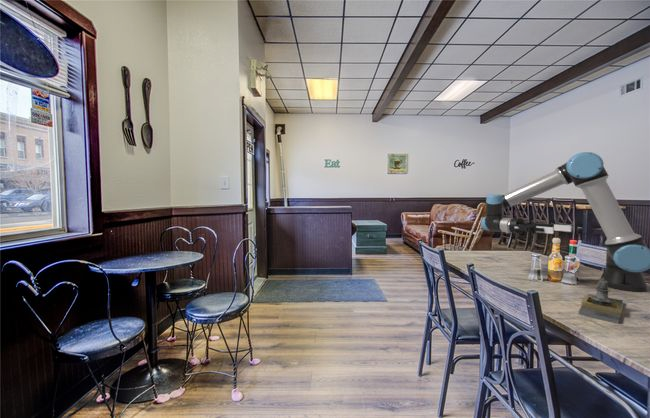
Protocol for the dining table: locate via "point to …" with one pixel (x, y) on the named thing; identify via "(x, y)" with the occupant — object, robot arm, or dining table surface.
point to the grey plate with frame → (601, 309)
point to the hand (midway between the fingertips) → (562, 229)
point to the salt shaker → (602, 293)
